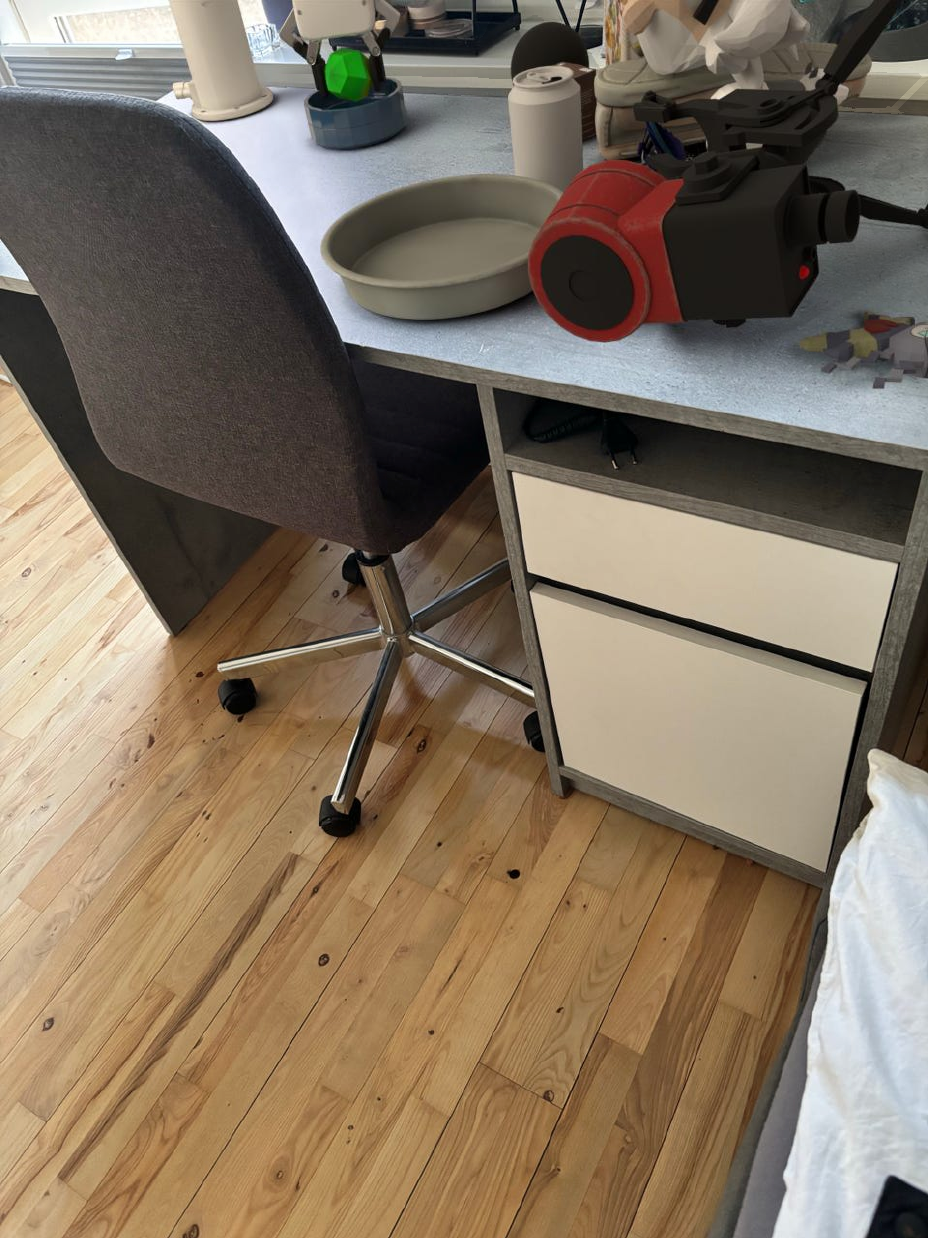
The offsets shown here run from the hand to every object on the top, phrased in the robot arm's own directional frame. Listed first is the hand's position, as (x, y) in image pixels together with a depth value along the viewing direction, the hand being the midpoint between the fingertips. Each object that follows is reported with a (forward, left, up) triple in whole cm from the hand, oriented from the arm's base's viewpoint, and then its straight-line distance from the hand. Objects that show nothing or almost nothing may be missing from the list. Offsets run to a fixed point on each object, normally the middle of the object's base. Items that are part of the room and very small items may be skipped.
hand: (352, 90), depth 122 cm
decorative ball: (+26, +3, -6) cm, 27 cm away
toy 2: (+55, -57, -5) cm, 80 cm away
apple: (-2, -3, +3) cm, 5 cm away
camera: (+52, -35, +5) cm, 63 cm away
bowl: (0, 0, -5) cm, 5 cm away
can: (+29, -25, -5) cm, 38 cm away
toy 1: (+38, -24, +19) cm, 49 cm away
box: (+29, -8, -6) cm, 30 cm away
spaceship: (+42, -24, -1) cm, 48 cm away
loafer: (+48, -14, +4) cm, 50 cm away
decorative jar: (+40, -4, -5) cm, 41 cm away
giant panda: (+51, -22, -5) cm, 56 cm away
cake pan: (+21, -43, -5) cm, 48 cm away
